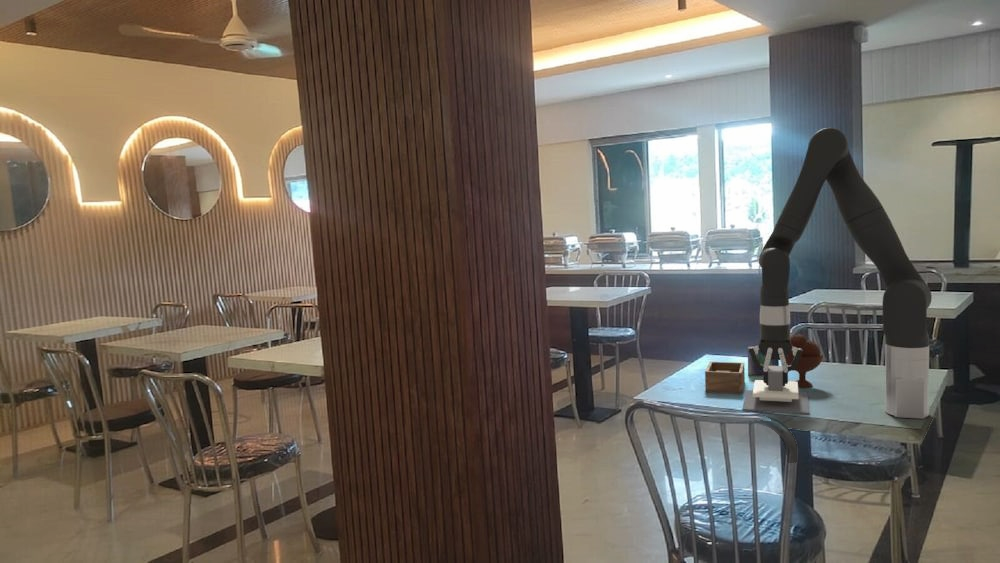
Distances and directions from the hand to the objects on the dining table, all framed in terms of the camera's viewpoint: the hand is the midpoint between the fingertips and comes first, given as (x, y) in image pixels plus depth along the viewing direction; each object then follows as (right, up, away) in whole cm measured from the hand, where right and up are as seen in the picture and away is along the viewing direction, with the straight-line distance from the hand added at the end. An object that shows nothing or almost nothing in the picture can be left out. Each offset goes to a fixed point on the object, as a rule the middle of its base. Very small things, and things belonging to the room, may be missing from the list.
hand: (775, 384), depth 182 cm
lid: (0, -3, 0) cm, 3 cm away
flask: (+9, -2, +31) cm, 33 cm away
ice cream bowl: (+14, -3, +16) cm, 22 cm away
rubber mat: (0, -5, 0) cm, 5 cm away
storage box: (-7, -3, +19) cm, 20 cm away
